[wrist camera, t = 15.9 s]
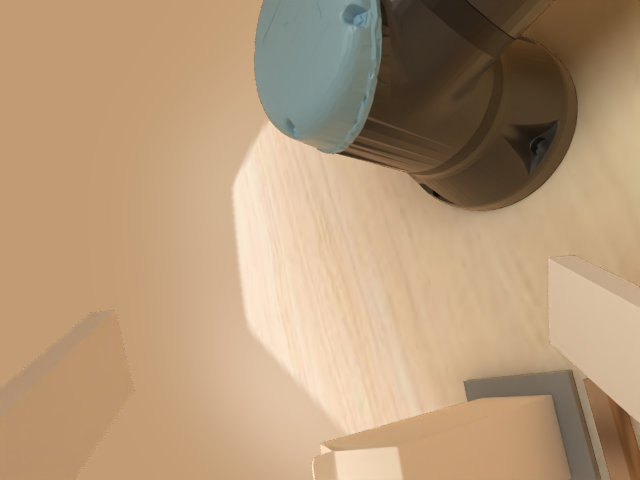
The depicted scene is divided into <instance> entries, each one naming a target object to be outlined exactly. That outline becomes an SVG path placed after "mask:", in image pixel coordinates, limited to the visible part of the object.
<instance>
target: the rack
mask: <svg viewBox="0 0 640 480" xmlns="http://www.w3.org/2000/svg"><path fill="white" fill-rule="evenodd" d="M583 380H584V384H585V387H586V391H587V395H588V398H589V402H590V406H591V409H592V413H593V416H594V420H595V424H596V427H597V431H598V435H599V438H600V442H601V446H602V449H603V453H604V456H605V460H606V464H607V467H608V471H609V475H610V478H611V480H640V452H639V449H638V446H637V442H636V439H635V435H634V432H633V429H632V425H631V422H630V418H629V415H628V413H627V412H626V411H625V410H624V409H623V408H622V407H621V406H619V405H618V404H617V403H616V402H615V401H614V400H613V399H612V398H611V397H609V396H608V395H607V394H606V393H605V392H604V391H603V390H602V389H600V388H599V387H598V386H597V385H596V384H595V383H594V382H593V381H592V380H590V379H589V378H587V379H583Z"/></svg>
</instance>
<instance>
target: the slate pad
mask: <svg viewBox="0 0 640 480" xmlns="http://www.w3.org/2000/svg"><path fill="white" fill-rule="evenodd" d="M464 386H465V391H466V395H467V400H468V402H469V401H473V400H476V399H480V398H487V397H509V396H532V395H552V398H553V403H554V407H555V411H556V415H557V419H558V423H559V428H560V432H561V436H562V440H563V444H564V448H565V453H566V457H567V461H568V465H569V469H570V473H571V479H570V480H601V478H600V474H599V470H598V467H597V463H596V459H595V456H594V452H593V448H592V445H591V441H590V437H589V433H588V430H587V426H586V422H585V419H584V415H583V411H582V408H581V404H580V400H579V396H578V393H577V389H576V385H575V382H574V378H573V374H572V371H571V370H568V371H557V372H546V373H536V374H525V375H515V376H504V377H494V378H483V379H472V380H466V381H464Z"/></svg>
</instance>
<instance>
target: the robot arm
mask: <svg viewBox="0 0 640 480" xmlns="http://www.w3.org/2000/svg"><path fill="white" fill-rule="evenodd" d="M554 1H555V0H263V4H262V7H261V11H260V15H259V19H258V24H257V30H256V37H255V55H254V71H255V80H256V86H257V91H258V95H259V98H260V101H261V104H262V106H263V109H264V111H265V113H266V115H267V116H268V118H269V119H270V121H271V122H272V124H273V125H274V126H275V127H276V128H277V129H278V130H279V131H281V132H282V133H283V134H285V135H286V136H288V137H290V138H292V139H295V140H297V141H300V142H302V143H305V144H308V145H310V146H313V147H315V148H317V149H318V150H319V151H322V152H324V153H332V154H334V153H336V154H340V155H344V156H347V157H351V158H355V159H359V160H362V161H366V162H370V163H373V164H377V165H381V166H384V167H388V168H392V169H395V170H399V171H403V172H406V173H408V174H409V175H410V176H411V177H412V178H413V179H414V180H415V181H416V182H417V183H419V184H420V186H421V187H422V188H423V189H424V190H425V191H426V192H428V193H429V194H430V195H431V196H433V197H434V198H436V199H438V200H439V201H441V202H443V203H446V204H448V205H451V206H455V207H460V208H464V209H469V210H478V211H484V210H493V209H498V208H502V207H505V206H508V205H510V204H513V203H515V202H517V201H519V200H521V199H523V198H524V197H526V196H528V195H529V194H531V193H532V192H533V191H535V190H536V189H537V188H538V187H539V186H541V185H542V184H543V183H544V182H545V181H546V180H547V179H548V178H549V177H550V175H551V174H552V173H553V172H554V171H555V169H556V168H557V167H558V165H559V164H560V162H561V160H562V159H563V157H564V155H565V153H566V151H567V149H568V147H569V145H570V142H571V139H572V136H573V133H574V129H575V124H576V118H577V98H576V92H575V88H574V84H573V81H572V79H571V77H570V75H569V73H568V71H567V69H566V68H565V66H564V65H563V64H562V62H561V61H560V60H559V59H558V58H557V57H556V56H554V55H553V54H552V53H551V52H550V51H548V50H547V49H546V48H545V47H543V46H542V45H541V44H539V43H537V42H536V41H534V40H531V39H529V38H527V37H524V36H520V35H521V34H522V33H523V32H524V31H525V30H526V29H527V28H528V27H529V26H530V25H531V24H532V23H533V22H534V21H535V20H536V19H537V18H538V17H539V16H540V15H541V14H542V13H543V12H544V11H545V10H546V9H547V8H548V7H549V6H550V5H551V4H552V3H553V2H554ZM548 283H549V343H550V344H551V345H553V346H554V347H555V348H556V349H557V350H558V351H559V352H560V353H561V354H563V355H564V356H565V357H566V358H567V359H568V360H569V361H570V362H572V363H573V364H574V365H575V366H576V367H577V368H578V369H579V370H580V371H582V372H583V373H584V374H585V375H586V376H587V377H588V378H589V379H590V380H592V381H593V382H594V383H595V384H596V385H597V386H598V387H599V388H600V389H602V390H603V391H604V392H605V393H606V394H607V395H608V396H609V397H611V398H612V399H613V400H614V401H615V402H616V403H617V404H618V405H619V406H621V407H622V408H623V409H624V410H625V411H626V412H627V413H628V414H629V415H631V416H632V417H633V418H634V419H635V420H636V421H637V422H638V423H640V287H639V286H637V285H635V284H633V283H631V282H629V281H627V280H625V279H623V278H621V277H618V276H616V275H614V274H612V273H610V272H608V271H606V270H604V269H602V268H600V267H598V266H596V265H593V264H591V263H589V262H587V261H585V260H583V259H581V258H579V257H577V256H575V255H570V256H561V257H553V258H548ZM133 393H134V387H133V383H132V378H131V374H130V369H129V365H128V361H127V357H126V353H125V348H124V344H123V339H122V335H121V331H120V326H119V322H118V318H117V314H116V310H109V311H100V312H92V313H90V314H88V315H87V316H86V317H85V318H84V319H82V320H81V321H80V322H79V323H78V324H76V325H75V326H74V327H73V328H72V329H70V330H69V331H68V332H67V333H66V334H64V335H63V336H62V337H61V338H60V339H58V340H57V341H56V342H55V343H54V344H52V345H51V346H50V347H49V348H48V349H46V350H45V351H44V352H43V353H42V354H40V356H38V357H37V358H36V359H34V361H32V362H31V363H30V364H29V365H27V366H26V367H25V368H24V369H23V370H21V371H20V372H19V373H18V374H17V375H15V376H14V377H13V378H12V379H11V380H10V381H8V382H7V383H6V384H5V385H3V386H2V387H1V388H0V480H75V479H76V477H77V476H78V474H79V473H80V472H81V470H82V469H83V467H84V466H85V464H86V463H87V461H88V460H89V458H90V457H91V455H92V453H93V452H94V451H95V449H96V448H97V446H98V445H99V443H100V442H101V440H102V439H103V437H104V436H105V434H106V433H107V431H108V430H109V428H110V427H111V425H112V424H113V422H114V421H115V419H116V418H117V416H118V415H119V413H120V412H121V410H122V409H123V407H124V406H125V404H126V403H127V402H128V400H129V399H130V397H131V396H132V394H133Z"/></svg>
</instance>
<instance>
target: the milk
mask: <svg viewBox="0 0 640 480" xmlns="http://www.w3.org/2000/svg"><path fill="white" fill-rule="evenodd" d="M320 447H321V455H319V456H316V457H315V458H314V459H313V462H312V470H313V480H570V479H571V473H570V469H569V465H568V461H567V457H566V453H565V448H564V444H563V440H562V436H561V432H560V428H559V423H558V419H557V415H556V411H555V407H554V403H553V398H552V395H532V396H509V397H487V398H480V399H476V400H473V401H469V402H465V403H462V404H458V405H455V406H451V407H448V408H444V409H441V410H437V411H433V412H430V413H426V414H423V415H419V416H416V417H412V418H409V419H405V420H401V421H398V422H394V423H391V424H387V425H384V426H380V427H376V428H373V429H369V430H366V431H362V432H359V433H355V434H352V435H348V436H344V437H341V438H337V439H334V440H330V441H327V442H324V443H321V444H320Z"/></svg>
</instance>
